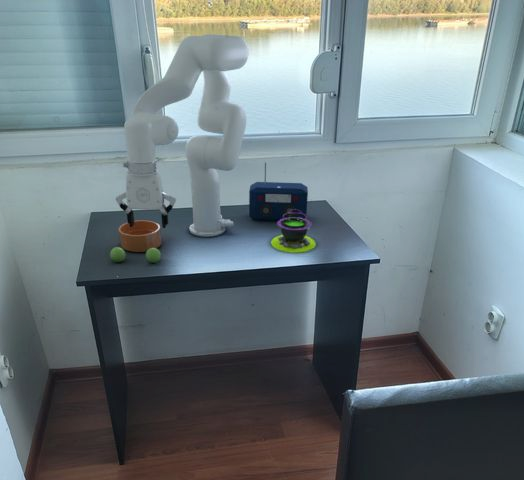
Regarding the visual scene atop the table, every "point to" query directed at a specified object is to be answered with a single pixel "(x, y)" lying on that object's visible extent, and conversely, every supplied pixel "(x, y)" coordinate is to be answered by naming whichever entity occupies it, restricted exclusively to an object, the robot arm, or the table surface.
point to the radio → (277, 200)
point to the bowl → (140, 236)
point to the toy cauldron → (293, 236)
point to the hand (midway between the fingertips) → (148, 226)
